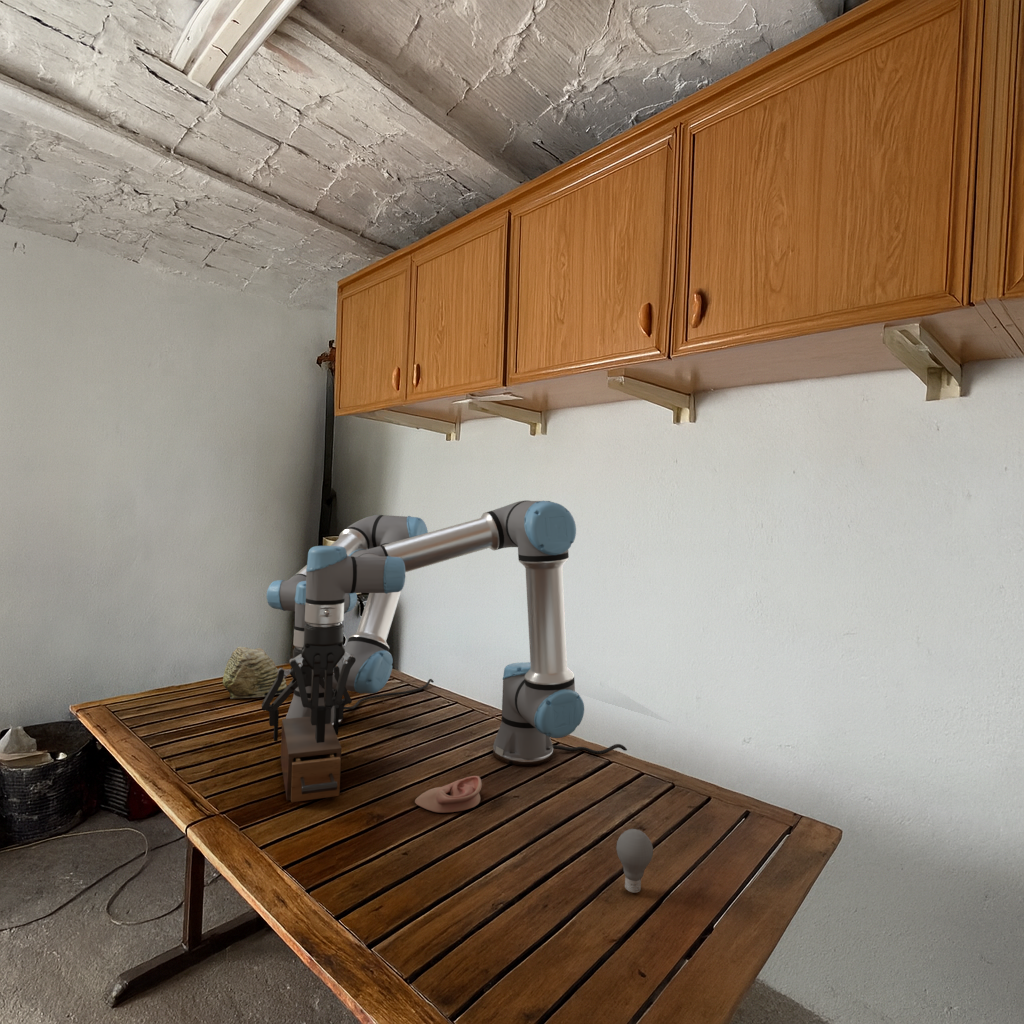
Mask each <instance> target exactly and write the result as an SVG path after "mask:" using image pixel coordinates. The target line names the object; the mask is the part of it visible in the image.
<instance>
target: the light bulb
mask: <svg viewBox="0 0 1024 1024" xmlns="http://www.w3.org/2000/svg"><path fill="white" fill-rule="evenodd" d="M615 849H616V854H617V857H618V859H619V861H620V863H621V865H622V867H623V873H624V874H623V875H624V876H625V878H624V888H625V890H627V891H628V892H630V893H634V894H635V893H639V892H640V891H641V889H642V887H641V886H642V879H643V877H644V875H645V871H646V868H647V867H648V866H649V864H650V863H651V861H652V859H653V855H654V847H653V843H652V841H651V838H649V836H648V835H647V834H646V833H645V832H643V831H642V830H641V829H636V828H629V829H627V830H625V831H623V832H622V833H621V834H620V835H619V837H618V839H617V841H616V847H615Z"/></svg>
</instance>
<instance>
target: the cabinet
mask: <svg viewBox="0 0 1024 1024" xmlns="http://www.w3.org/2000/svg"><path fill="white" fill-rule="evenodd" d="M315 731H316V725H312V724H311V721H310V717H301V718H290V719H286V718H282V719H281V736H280V737H281V742H280V765H281V770H282V771H281V772H282V778H283V785H284V791H285V792H284V793H285V798H286V801H291V781H292V762H293V758H298V757H307V756H315V755H324V754H334V757H340V759H341V761H340V773H341V772H342V771H341V770H342V769H341V768H342V766H341V765H342V746H341V743H340V740H339V738H338V735H336V733H335V730H334V728H333V725H332V723H331V722H330V724H325V741H324V742H320V743H317V742H316V739H315ZM340 793H341V786H340V787H339V794H340Z"/></svg>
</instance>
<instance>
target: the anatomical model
mask: <svg viewBox="0 0 1024 1024" xmlns="http://www.w3.org/2000/svg"><path fill="white" fill-rule="evenodd" d="M482 786H483V783H482V779H481V777H480V776H479V775H471V776H467V777H464V778H461V779H458V780H455V781H452V782H450V783H447V784H445V785H442V786H438V787H433V788H430V789H427V790H425V791H424V792H423V793H421V794H419V795H418V796H417V797H416V798H415V800H414V804H416V805H417V806H418V807H420V808H423V809H425V810H427V811H429V812H433V813H440V814H441V813H443V814H445V813H454V812H463V811H466V810H470V809H472V808H473V809H474V808H475V807H476V806H478V805H480V803H481V793H480V791H481V790H482Z"/></svg>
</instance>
